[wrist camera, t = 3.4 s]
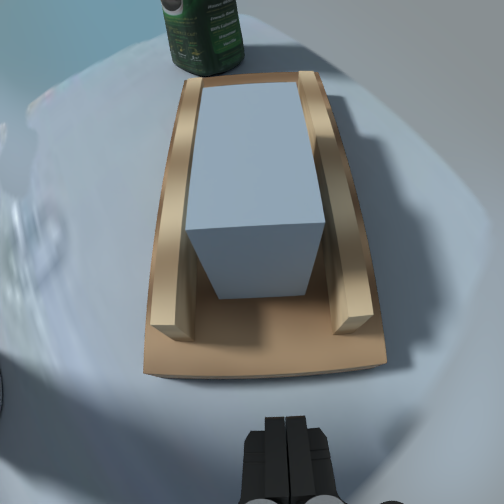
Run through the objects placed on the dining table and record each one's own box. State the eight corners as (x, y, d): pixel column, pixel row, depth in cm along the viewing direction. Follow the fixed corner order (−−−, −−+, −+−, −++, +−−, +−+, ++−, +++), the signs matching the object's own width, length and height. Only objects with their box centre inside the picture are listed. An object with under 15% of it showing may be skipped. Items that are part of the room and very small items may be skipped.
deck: (371, 368, 19) (416, 351, 12) (160, 377, 19) (111, 364, 13) (316, 94, 31) (320, 40, 25) (189, 101, 32) (177, 49, 25)
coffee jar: (255, 60, 35) (246, -69, 19) (208, 84, 33) (182, -59, 16) (209, 43, 39) (191, -65, 22) (165, 65, 36) (135, -51, 20)
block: (304, 295, 18) (325, 222, 11) (218, 299, 18) (185, 229, 11) (291, 174, 22) (295, 82, 15) (221, 178, 22) (202, 87, 15)
